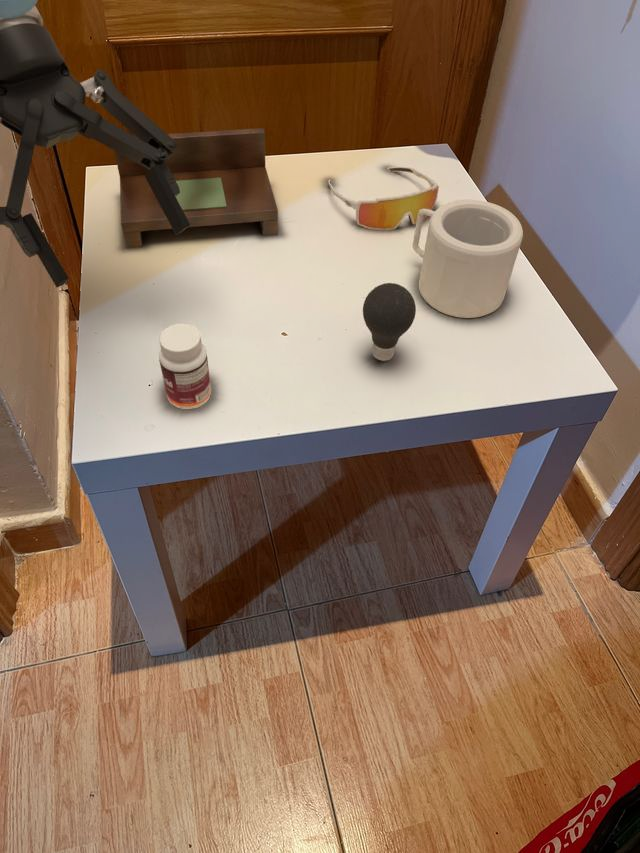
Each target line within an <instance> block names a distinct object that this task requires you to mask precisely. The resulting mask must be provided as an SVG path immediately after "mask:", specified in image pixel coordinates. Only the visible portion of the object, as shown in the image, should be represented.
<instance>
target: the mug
mask: <svg viewBox="0 0 640 853" xmlns="http://www.w3.org/2000/svg"><path fill="white" fill-rule="evenodd" d="M423 215H427V217H430V219H429V223H428V228H427V234H426V238H425V239H426V241H425V246H424V250H423V249H422V248H421V247H420V245H419V243H420V238H421V233H422V226H423V222H424V220H423ZM523 238H524V229H523V227H522V224H521V222H520V220H519V219H518V218H517V216H515V215H514V214H513V213H512V212H511V211H509V210H508V209H506V208H504V207H503V206H500V205H498V204H495V203H493V202H489V201H485V200H479V199H457V200H453V201H449V202H447V203H444V204H442V205H441V206H438V208H437V209H436V210H433V209H432V210H430V209H421V210H419V213H418V216H417V221H416V224H415V229H414V234H413V239H412V249H413V251H414V252H415V253H416V255H418V256H419V257H420V258H421V259H422V262H421V268H420V272H419V277H418V278H419V279H418V289H419V294H420V296H421V297H422V298H423V300H424V301H425V302H426V303H427V304H428V305H429V306H430V307H432V308H433V309H434V310H437V311H438V312H440V313H443V314H445V315H448V316H450V317H456V318H461V319H473V318H479V317H484V316H487V315H489V314H491V313H493V312H495V311H497V309H499V308H500V306H501V305H502V304H503V302H504V299H505V297H506V293H507V289H508V286H509V283H510V280H511V276H512V273H513V269H514V266H515V263H516V260H517V257H518V254H519V251H520V248H521V245H522V242H523Z"/></svg>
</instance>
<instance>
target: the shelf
mask: <svg viewBox="0 0 640 853" xmlns="http://www.w3.org/2000/svg"><path fill="white" fill-rule="evenodd" d="M265 133H266V132H265V129H264V128H263V127H260V128H257V127H256V128H244V129H243V128H242V129H241V128H240V129H230V130H229V129H228V130H227V129H226V130H212V131H197V132H196V131H195V132H180V133H167V134H168V135H169V136H170V137H171V138H172V139H173V140H174V141H175V142H176V143H177V148H176V150H175V151H174V152H173V154H172V155H171V156H170V157H169V158H168V159H167V165H168V167H169V169H170V171H171V173H172V175H173V177H174V179H175V180H176V183H177V184H178V186H179V190H180V193H179V194H178V195H177V196H176V199H177V200H178V202H179V204H180V206H181V208H182V210H183V212H184V214H185V216H186V218H187V220H188V222H189V223H190V226H189V227H188V228H196V227H207V226H208V227H209V226H218V225H231V224H243V223H256V222H259V225H260V228H261V232H262V237H272V236H273V237H274V236H279V210H278V206H277V202H276V198H275V196H274V192H273V189H272V185H271V181H270V178H269V173H268V170H267V167H266V165H267V164H266V135H265ZM134 136H135V135H134ZM135 137H136V136H135ZM137 138H138V137H137ZM113 151H114V156H115V161H116V166H117V170H118V176H119V197H120V199H119V200H120V224H121V229H122V233H123V239H124V244H125V247H126V249H135V248H137V249H138V248H143V239H142V238H143V236H142V232H148V231H149V232H150V231H160V230H161V231H162V230H171V229H172V227H171V225H170V223H169V221H168V219H167V217H166V215H165V214H164V212H163V210H162V208H161V206H160V204H159V202H158V200H157V198H156V197H155V195H154V193H153V191H152V189H151V187H150V185H149V183H148V181H147V180H146V178H145V175H146V174H147V173H148V171H149V169H147V168H146V167H144V166H142V165H140V164H138V163H137V162H135V161H133V160H131V159H129V158H127V157H126V156H124V155H122V154H120V153H118V152H116V151H115V150H113ZM172 230H173V229H172Z"/></svg>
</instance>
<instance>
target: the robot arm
mask: <svg viewBox="0 0 640 853" xmlns="http://www.w3.org/2000/svg"><path fill="white" fill-rule="evenodd" d="M38 1H39V0H0V124H1V125H2V126H3V127H5V128H6V129H8V130H10V131H12V132H13V133H15V134H16V135H18V136H20V137H19V142H18V147H17V152H16V156H15V161H14V167H13V171H12V176H11V181H10V186H9V190H8V195H7V199H6V205H5V206H0V225H1V226H4V227H6V228H8V229H10V231H11V233H12V235H13V236H14V238H15V240H16V241H17V244H18V245H19V247H20V248H21V250H22V252H23V254H24V255H26V257H28V258H31V257H34V256H37V257H38V258H39V260H40V261H41V263H42V265H43V267H44V268H45V270H46V272H47V274H48V275H49V277H50V279H51V281H52V282H53V284H54V286H55V287H56V288H59V287H62V286H64V285H65V284H66V283H67V282H68V280H69V277H68V274H67V272H66V271H65V269H64V267H63V266H62V264H61V263H60V261H59V259H58V257H57V256H56V254H55V252H54V250H53V249H52V247H51V245H50V243H49V241H48V240H47V238H46V236H45V235H44V233H43V231H42V229H41V227H40V226H39V224H38V222H37V221H36V218H35V217H34V216H33V213H32V212H30V213H27V214H25V215H22V209H23V204H24V199H25V194H26V189H27V184H28V180H29V175H30V169H31V165H32V160H33V155H34V150H35V147H36V146H37V147H43V148H44V149H48V148H51V147H53V146H55V145H56V144H57V143H59V142H69V141H71V140H75V138H76V137H77V136H78V135H81V136H83V137H84V138H87V139H92V140H94V141H96V142H98V143H100V144H101V145H103V146H105V147H107V148H109V149H111V150H113V151H114V150H115V151H116V152H118V153H120V154H122V155H124V156H126V157H127V158H129V159H131V160H133V161H135V162H137V163H138V164H140V165H142V166H144V167H146V168H147V169H149V171H148V173H147V174H146V175H145V178H146V180H147V181H148V183H149V185H150V187H151V189H152V191H153V193H154V195H155V197H156V198H157V200H158V202H159V204H160V206H161V208H162V210H163V212H164V214H165V215H166V217H167V219H168V221H169V223H170V225H171V227H172V230H173V233H174V234H175V236H177V235H179V234H181V233H183V232H184V231H185V230H187V229H188V228H190V227H189V226H190V223H189V222H188V220H187V218H186V216H185V214H184V212H183V210H182V208H181V206H180V204H179V202H178V200H177V199H176V196H177V195H178V194H179V193H180V190H179V186H178V184H177V183H176V180H175V179H174V177H173V175H172V173H171V171H170V169H169V167H168V165H167V159H168V158H169V157H170V156H171V155H172V154H173V152H174V151H175V150H176V148H177V143H176V142H175V141H174V140H173V139H172V138H171V137H170V136H169V135H168V134H169V133H167V132H165V130H163V129H162V128H161V127H160V126H159V125H158V124H156V123H155V122H154V121H153V120H152V119H151V118H150V117H149V116H148V115H146V114H145V113H144V112H143V111H142V110H141V109H140V108H139V107H137V106H136V105H135V104H134V103H133V102H132V101H131V100H129V99H128V98H127V96H125V95H124V94H122V93H121V92H120V91H119V90H118V89H117V87H116V86H115V85H114V83H113V81H112V79H111V78H110V77H109V75H108V73H107V72H106V71H105V70H103V69H97V70H96V71H95V73H94V75H93V76H92V77H90V78H88V79H85V80H83V81H81V82H79V81H78V80H77V79H76V78H75V77H74V76H73V75H72V73H71V72H70V69H69V66H68V65H67V63H66V61H65V59H64V57H63V55H62V53H61V52H60V49H59V47H58V46H57V44H56V42H55V40H54V38H53V37H52V34H51V32H50V31H49V29H47V28H46V27H44V19H43V17H42V16H41V14H40V11H39V10H38V8H37V6H36V4H37V3H38ZM86 97H87V98H90V99H91V100H92V101H93V102H94V103H96V104H100V105H101V106H102V107H103V109H104V110H105V111H107V113H108V114H110V116H112V118H114V119H115V120H116V121H118V122H119V123H120V124H121V125H122V126H123V127H124V128H126V129H127V130H128V131H129V132H130V133H129V132H128V131H126V130H125V129H123V128H122V127H119V126H118V125H116V124H114V123H112V122H110V121H109V120H108V119H105V118H104V117H102V114H100V113H99V112H98V111H96V110H94V109H93V108H90V107H89V106H87V105H85V104H86ZM135 136H136V137H135ZM137 137H138V138H137Z"/></svg>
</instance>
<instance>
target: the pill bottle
mask: <svg viewBox="0 0 640 853" xmlns="http://www.w3.org/2000/svg"><path fill="white" fill-rule="evenodd" d="M202 341H203V340H202V337H201V332H200V331H199V329H198V328H196V327H195V326H193V325H191V324H188V323H175V324H172V325H169V326H167V327H166V328H165V329H163V330H162V331H161V333H160V334H159V346H160V347H159V348H160V350H159V352H158V353H159V354H158V362H159V365H160V370H161V374H162V375H161V376H162V380H163V384H164V389H165V394H166V398H167V400H168V402H169V403H170V405H172V406H174V408H177V409H182V410H194V409H198V408H200V407H202V406H204V405H205V404H206V403H207V402H208V401H209V399H210V398H211V394H212V385H211V379H210V378H211V377H210V369H209V361H208V353H207V348H206V346H205V345H204V344H203V343H202Z"/></svg>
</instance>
